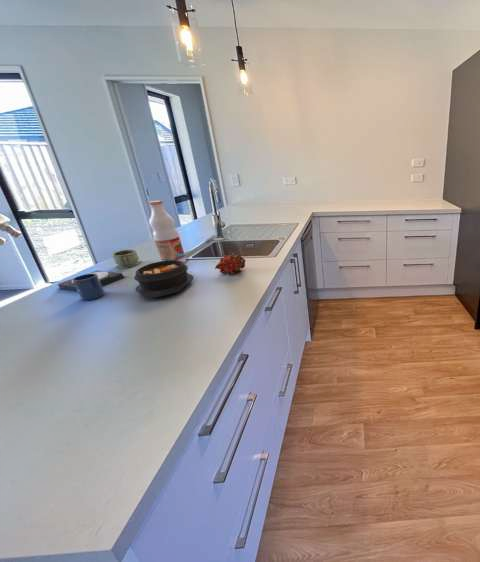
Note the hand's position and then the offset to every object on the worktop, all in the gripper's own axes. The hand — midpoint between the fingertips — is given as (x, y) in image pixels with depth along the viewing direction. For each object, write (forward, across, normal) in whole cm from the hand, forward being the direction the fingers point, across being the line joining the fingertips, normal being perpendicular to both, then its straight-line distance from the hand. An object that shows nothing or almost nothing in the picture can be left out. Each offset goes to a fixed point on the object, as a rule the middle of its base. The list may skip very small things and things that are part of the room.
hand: (12, 239), depth 93 cm
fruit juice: (+42, +25, -9) cm, 50 cm away
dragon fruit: (+58, -2, -24) cm, 63 cm away
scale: (+23, +16, +11) cm, 29 cm away
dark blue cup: (+25, 0, +8) cm, 27 cm away
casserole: (+42, -4, -8) cm, 42 cm away
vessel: (+29, +34, +4) cm, 45 cm away
